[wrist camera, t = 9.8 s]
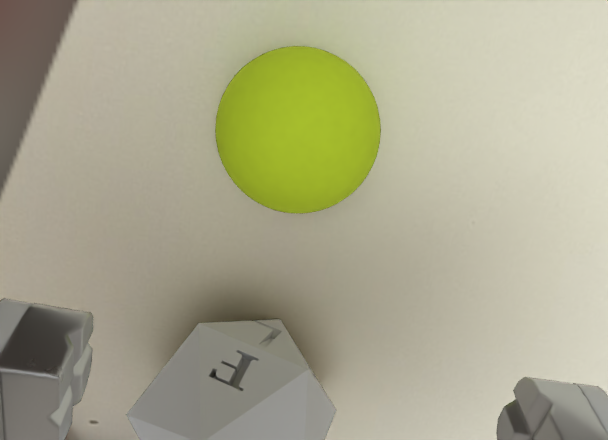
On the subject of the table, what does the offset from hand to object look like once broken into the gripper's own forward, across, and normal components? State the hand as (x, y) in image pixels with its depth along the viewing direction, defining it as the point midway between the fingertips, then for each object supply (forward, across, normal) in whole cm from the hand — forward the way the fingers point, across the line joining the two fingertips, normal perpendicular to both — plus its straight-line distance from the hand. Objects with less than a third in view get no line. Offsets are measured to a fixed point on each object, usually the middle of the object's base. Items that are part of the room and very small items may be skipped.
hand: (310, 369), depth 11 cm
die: (+15, 0, +14) cm, 21 cm away
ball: (+12, 0, 0) cm, 12 cm away
